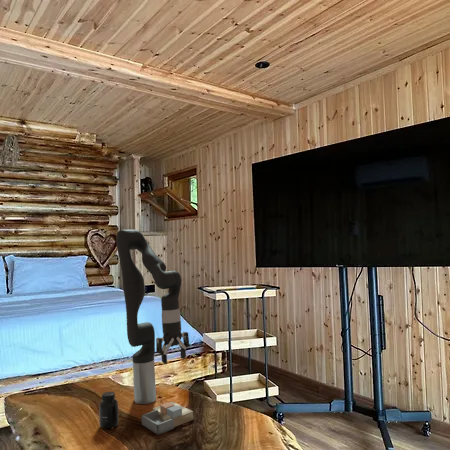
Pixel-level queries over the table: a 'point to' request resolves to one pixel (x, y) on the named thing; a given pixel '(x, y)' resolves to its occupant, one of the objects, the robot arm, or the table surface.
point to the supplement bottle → (108, 410)
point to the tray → (156, 423)
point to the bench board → (185, 417)
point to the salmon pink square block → (165, 407)
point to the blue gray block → (174, 411)
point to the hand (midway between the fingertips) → (174, 361)
